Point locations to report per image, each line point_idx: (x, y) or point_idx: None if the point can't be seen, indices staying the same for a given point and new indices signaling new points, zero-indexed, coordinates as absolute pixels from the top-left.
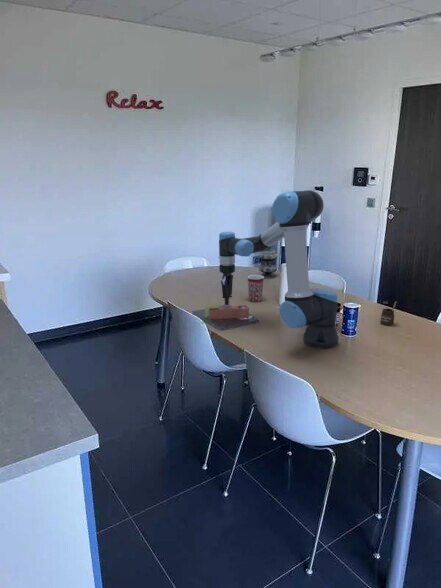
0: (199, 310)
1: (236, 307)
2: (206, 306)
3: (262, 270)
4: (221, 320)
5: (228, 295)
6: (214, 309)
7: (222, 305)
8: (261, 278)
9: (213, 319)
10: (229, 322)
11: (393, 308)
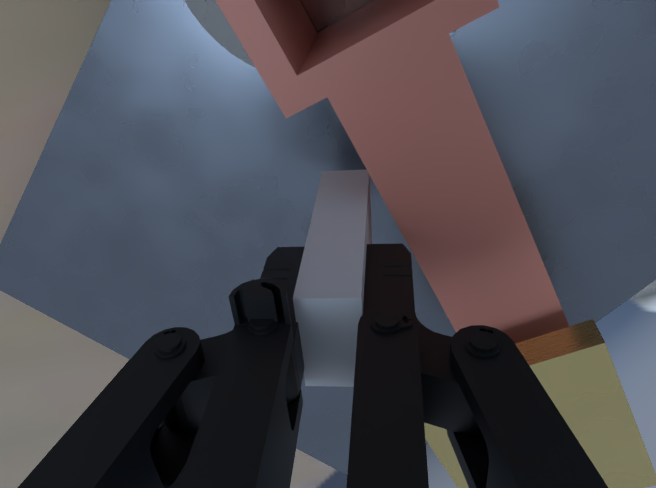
0: (319, 450)
1: (394, 65)
2: (640, 474)
3: None
4: (575, 180)
5: (419, 366)
6: None
7: (66, 322)
8: None
9: (554, 274)
10: (649, 47)
11: None
